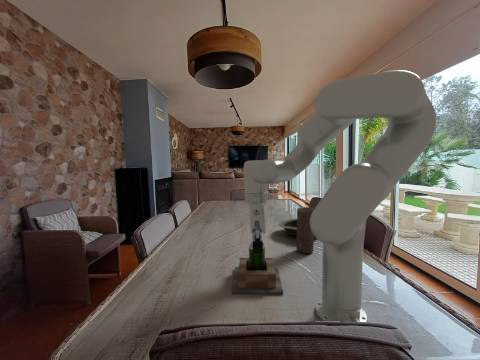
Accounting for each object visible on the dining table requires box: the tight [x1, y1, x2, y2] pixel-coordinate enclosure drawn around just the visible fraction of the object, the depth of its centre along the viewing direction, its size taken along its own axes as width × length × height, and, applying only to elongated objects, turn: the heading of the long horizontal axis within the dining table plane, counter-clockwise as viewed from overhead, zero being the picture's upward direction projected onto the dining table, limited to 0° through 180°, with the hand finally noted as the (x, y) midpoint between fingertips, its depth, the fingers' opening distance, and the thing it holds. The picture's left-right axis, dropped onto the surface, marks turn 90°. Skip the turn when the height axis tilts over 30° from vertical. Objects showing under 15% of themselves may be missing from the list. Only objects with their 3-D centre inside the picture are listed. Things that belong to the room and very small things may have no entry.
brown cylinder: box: [295, 206, 315, 254], centre depth 103 cm, size 8×7×20 cm
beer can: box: [248, 241, 266, 270], centre depth 79 cm, size 5×5×12 cm
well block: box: [231, 257, 284, 296], centre depth 80 cm, size 16×16×6 cm
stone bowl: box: [277, 218, 317, 240], centre depth 126 cm, size 25×25×9 cm
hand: (257, 247), depth 78 cm, fingers open, 9 cm apart
